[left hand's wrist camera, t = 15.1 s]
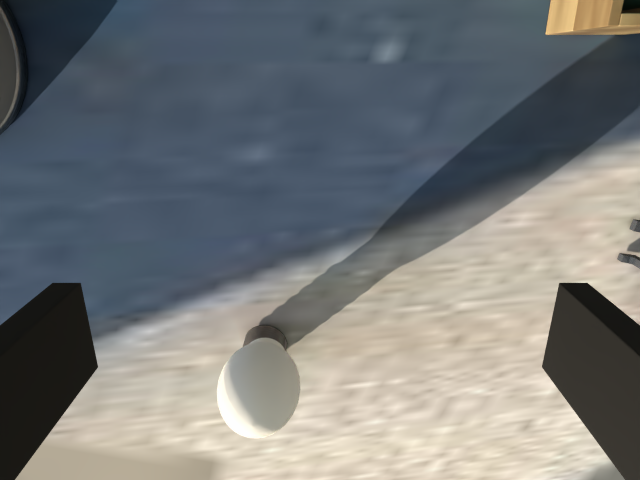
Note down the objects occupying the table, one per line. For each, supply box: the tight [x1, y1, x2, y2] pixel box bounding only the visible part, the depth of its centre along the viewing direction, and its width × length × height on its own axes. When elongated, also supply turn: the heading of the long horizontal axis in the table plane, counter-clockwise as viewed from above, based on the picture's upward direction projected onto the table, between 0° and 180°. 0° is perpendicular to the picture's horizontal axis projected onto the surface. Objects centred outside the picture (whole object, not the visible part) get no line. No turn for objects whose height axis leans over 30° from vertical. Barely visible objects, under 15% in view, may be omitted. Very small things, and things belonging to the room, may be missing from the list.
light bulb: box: [217, 325, 300, 438], centre depth 39 cm, size 7×7×11 cm
